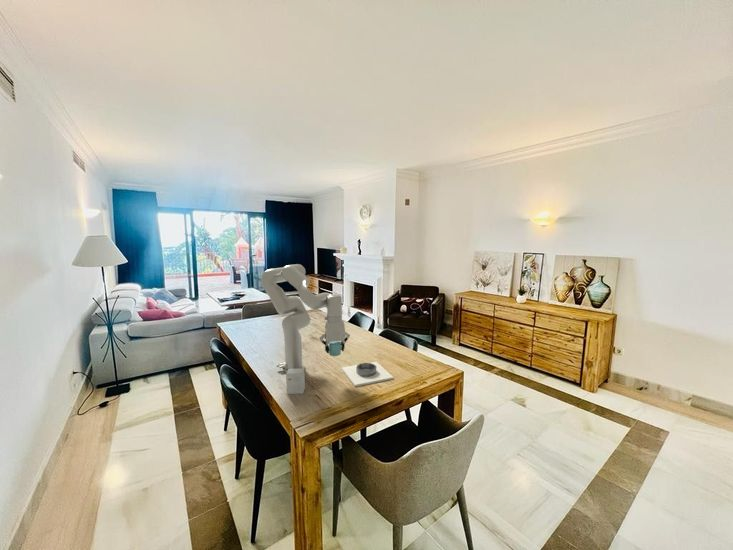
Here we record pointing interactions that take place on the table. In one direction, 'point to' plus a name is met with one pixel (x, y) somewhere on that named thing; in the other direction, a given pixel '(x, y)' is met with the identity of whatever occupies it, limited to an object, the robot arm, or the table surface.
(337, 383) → the table surface
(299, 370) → the small box
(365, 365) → the dark grey round dish
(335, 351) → the teal bumpy cylinder
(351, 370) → the mount plate
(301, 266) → the robot arm
